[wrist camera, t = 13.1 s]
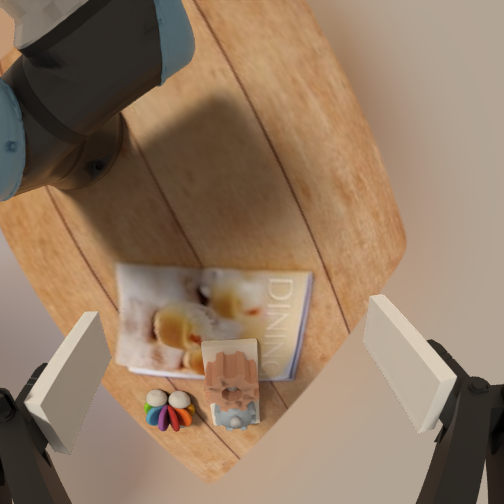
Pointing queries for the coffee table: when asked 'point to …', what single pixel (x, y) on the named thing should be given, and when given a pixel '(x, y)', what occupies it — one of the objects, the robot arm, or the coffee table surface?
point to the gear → (231, 381)
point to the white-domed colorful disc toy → (168, 410)
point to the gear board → (230, 351)
